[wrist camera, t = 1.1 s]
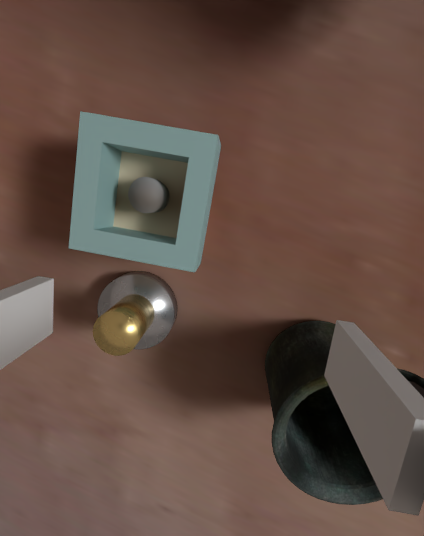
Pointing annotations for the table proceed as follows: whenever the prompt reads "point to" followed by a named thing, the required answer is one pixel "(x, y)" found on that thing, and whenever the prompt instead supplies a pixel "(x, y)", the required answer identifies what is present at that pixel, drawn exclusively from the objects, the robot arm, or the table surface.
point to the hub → (134, 313)
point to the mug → (315, 419)
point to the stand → (149, 194)
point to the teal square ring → (106, 183)
